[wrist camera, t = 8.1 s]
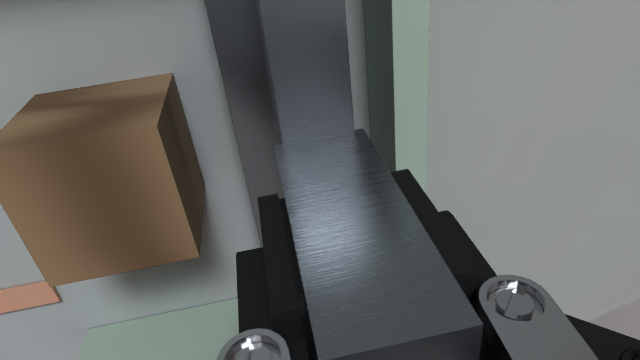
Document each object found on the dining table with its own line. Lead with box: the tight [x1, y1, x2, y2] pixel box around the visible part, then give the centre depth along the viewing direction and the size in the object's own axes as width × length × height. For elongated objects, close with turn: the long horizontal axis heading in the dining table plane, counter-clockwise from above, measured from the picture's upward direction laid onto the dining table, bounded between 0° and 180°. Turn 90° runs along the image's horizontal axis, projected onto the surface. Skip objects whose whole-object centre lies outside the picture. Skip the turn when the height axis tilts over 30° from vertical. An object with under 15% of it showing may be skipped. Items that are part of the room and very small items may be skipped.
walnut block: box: [0, 73, 205, 287], centre depth 16 cm, size 5×5×5 cm
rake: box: [205, 0, 483, 360], centre depth 13 cm, size 4×14×13 cm, turn 6°
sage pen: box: [78, 0, 430, 360], centre depth 17 cm, size 16×21×4 cm
